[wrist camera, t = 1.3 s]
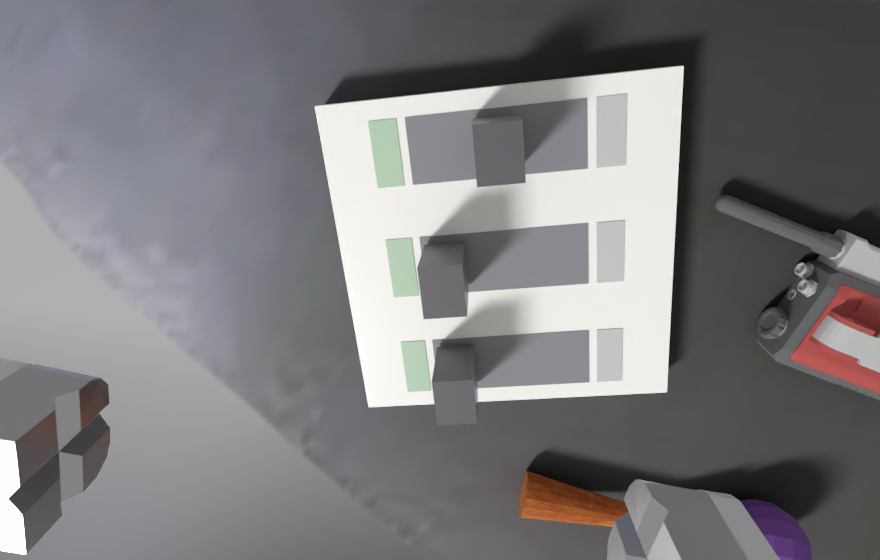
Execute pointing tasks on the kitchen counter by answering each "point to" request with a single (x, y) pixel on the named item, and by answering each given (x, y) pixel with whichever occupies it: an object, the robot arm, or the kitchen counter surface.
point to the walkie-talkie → (823, 304)
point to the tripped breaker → (499, 150)
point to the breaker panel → (514, 234)
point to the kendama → (587, 507)
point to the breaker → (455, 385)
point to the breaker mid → (443, 280)
